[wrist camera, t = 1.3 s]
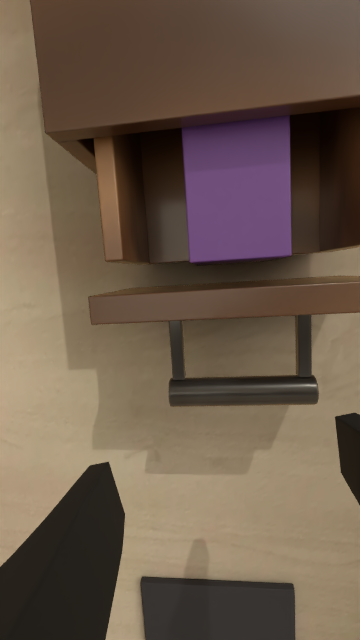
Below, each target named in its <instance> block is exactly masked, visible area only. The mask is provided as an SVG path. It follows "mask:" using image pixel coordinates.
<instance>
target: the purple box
mask: <svg viewBox="0 0 360 640" xmlns="http://www.w3.org/2000/svg"><path fill="white" fill-rule="evenodd" d="M182 145H183V162H184V179H185V197H186V214H187V232H188V249H189V262H190V263H193V264H195V265H212V264H227V263H242V262H257V261H269V260H274V259H279V258H284V257H289V256H291V254H292V253H291V175H290V115H287V116H278V117H270V118H261V119H252V120H244V121H235V122H226V123H217V124H209V125H200V126H191V127H183V128H182Z"/></svg>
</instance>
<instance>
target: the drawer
mask: <svg viewBox="0 0 360 640" xmlns="http://www.w3.org/2000/svg"><path fill="white" fill-rule="evenodd" d="M94 149H95V160H96V170H97V181H98V192H99V202H100V213H101V224H102V234H103V245H104V256H105V261H106V262H115V263H126V264H137V265H145V264H160V263H175V262H189V249H188V232H187V214H186V197H185V179H184V162H183V145H182V128H174V129H165V130H157V131H148V132H139V133H131V134H122V135H113V136H105V137H96V138H94ZM290 175H291V253H292V254H291V255H294V254H309V253H324V252H333V251H339V250H345V249H350V248H356V247H360V107H356V108H348V109H339V110H330V111H322V112H313V113H304V114H296V115H290ZM88 299H89V308H90V318H91V324H92V325H98V324H120V323H141V322H163V321H169V330H170V345H171V359H172V374H173V378H171V379H170V381H169V403H170V406H172V407H183V406H248V405H313V404H317V402H318V397H319V391H318V384H317V381H316V378H315V377H314V375H312V352H311V315H315V314H337V313H359V312H360V276H328V277H311V278H294V279H277V280H260V281H243V282H226V283H209V284H192V285H175V286H158V287H141V288H129V289H124V290H119V291H114V292H109V293H104V294H99V295H94V296H89V298H88ZM293 315H295V333H296V374H297V375H280V376H241V377H202V378H185V377H186V372H185V356H184V340H183V324H182V321H185V320H207V319H228V318H250V317H272V316H293Z"/></svg>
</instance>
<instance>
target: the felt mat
mask: <svg viewBox="0 0 360 640" xmlns="http://www.w3.org/2000/svg"><path fill="white" fill-rule="evenodd" d="M141 592H142V603H143V614H144V625H145V636H146V640H295V595H294V586H293V584H284V583H262V582H241V581H219V580H198V579H176V578H155V577H142V579H141Z"/></svg>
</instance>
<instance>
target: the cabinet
mask: <svg viewBox="0 0 360 640" xmlns="http://www.w3.org/2000/svg"><path fill="white" fill-rule="evenodd" d="M30 3H31V11H32V20H33V29H34V38H35V47H36V55H37V64H38V73H39V82H40V91H41V99H42V108H43V117H44V126H45V133H46V134H47V135H48V136H50V137H51V138H52V139H53V140H54V141H56V142H57V143H58V144H60V145H61V146H62V147H63V148H64V149H66V150H67V151H68V152H69V153H71V154H72V155H73V156H74V157H76V158H77V159H78V160H79V161H80V162H82V163H83V164H84V165H85V166H87V167H88V168H89V169H90V170H91V171H93V172H94V173H95V174H96V175H97V170H96V160H95V149H94V138H96V137H105V136H113V135H122V134H131V133H139V132H148V131H157V130H165V129H174V128H183V127H191V126H200V125H209V124H217V123H226V122H235V121H244V120H252V119H261V118H270V117H278V116H287V115H296V114H304V113H313V112H322V111H330V110H339V109H348V108H356V107H360V0H30Z"/></svg>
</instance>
